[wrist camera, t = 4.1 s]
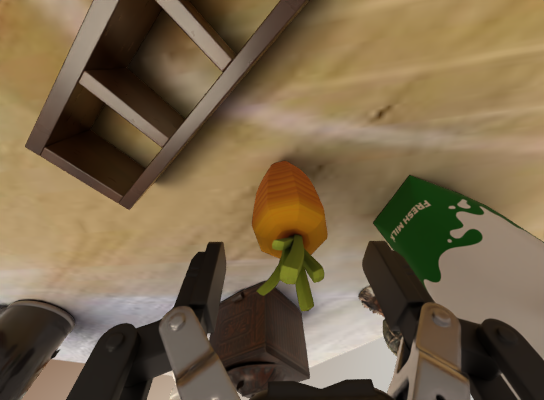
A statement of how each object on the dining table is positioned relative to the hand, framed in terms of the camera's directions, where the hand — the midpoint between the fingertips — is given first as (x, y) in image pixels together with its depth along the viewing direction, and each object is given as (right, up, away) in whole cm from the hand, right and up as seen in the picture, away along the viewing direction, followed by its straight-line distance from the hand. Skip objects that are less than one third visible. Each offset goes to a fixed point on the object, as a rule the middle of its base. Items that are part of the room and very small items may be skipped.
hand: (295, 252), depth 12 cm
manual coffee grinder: (-6, -16, +25) cm, 30 cm away
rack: (-9, +14, +6) cm, 17 cm away
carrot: (0, +7, +11) cm, 13 cm away
